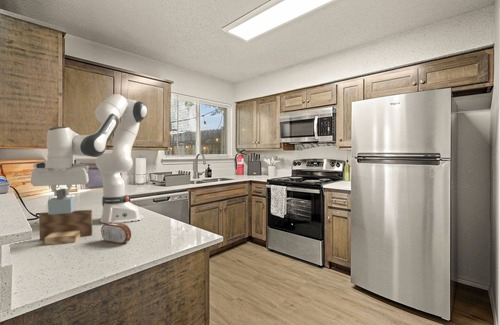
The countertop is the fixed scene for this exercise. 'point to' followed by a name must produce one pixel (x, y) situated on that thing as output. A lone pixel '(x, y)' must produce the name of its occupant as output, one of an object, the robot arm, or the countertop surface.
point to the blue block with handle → (61, 203)
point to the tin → (116, 232)
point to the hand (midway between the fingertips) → (61, 195)
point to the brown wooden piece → (65, 226)
